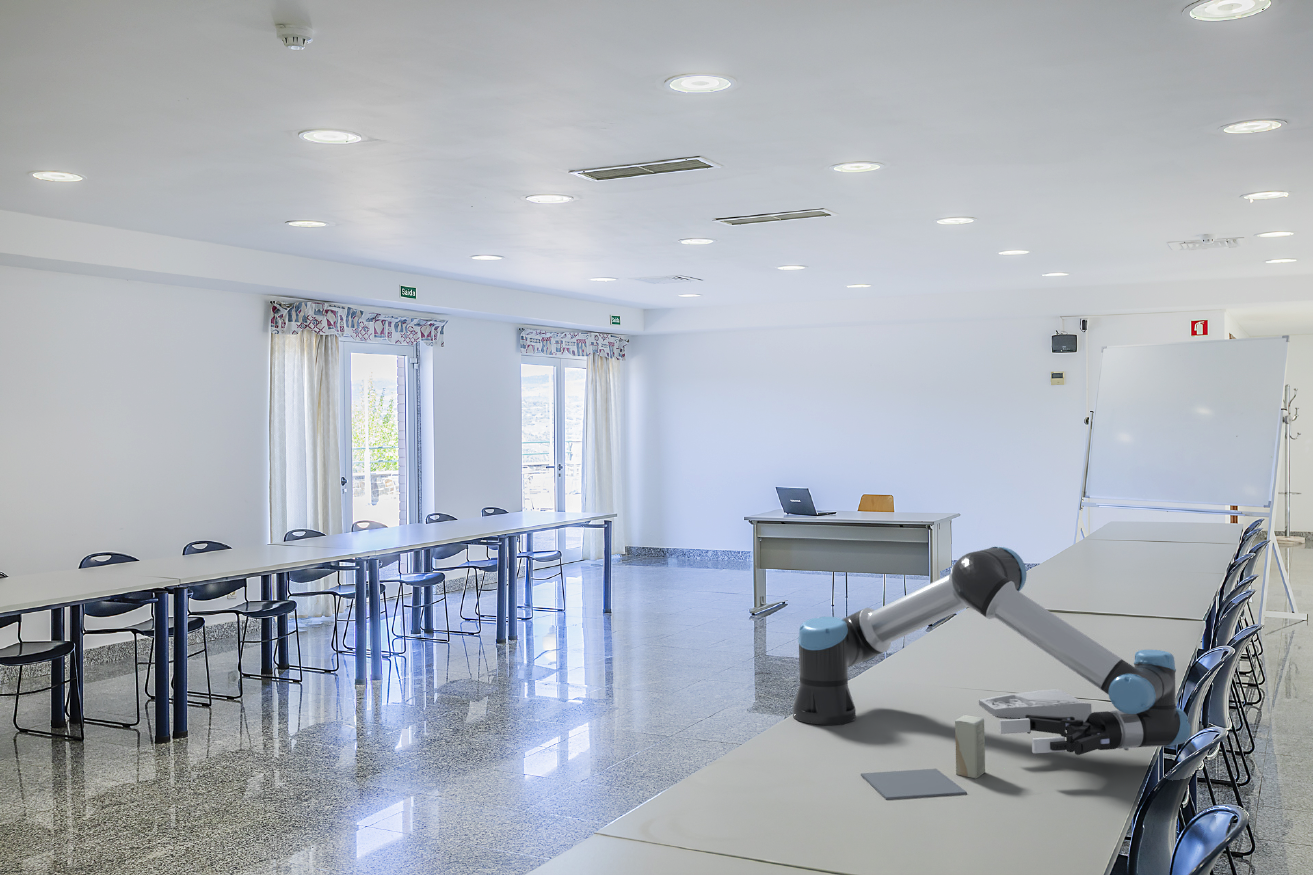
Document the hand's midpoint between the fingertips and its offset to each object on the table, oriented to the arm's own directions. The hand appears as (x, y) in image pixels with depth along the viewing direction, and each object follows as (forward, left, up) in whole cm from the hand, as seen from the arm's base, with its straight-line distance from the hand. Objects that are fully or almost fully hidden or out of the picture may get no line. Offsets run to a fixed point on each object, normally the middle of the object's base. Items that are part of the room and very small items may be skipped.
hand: (1015, 736), depth 207 cm
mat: (+4, -24, -7) cm, 25 cm away
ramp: (-39, +25, -8) cm, 47 cm away
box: (0, -10, -7) cm, 12 cm away
